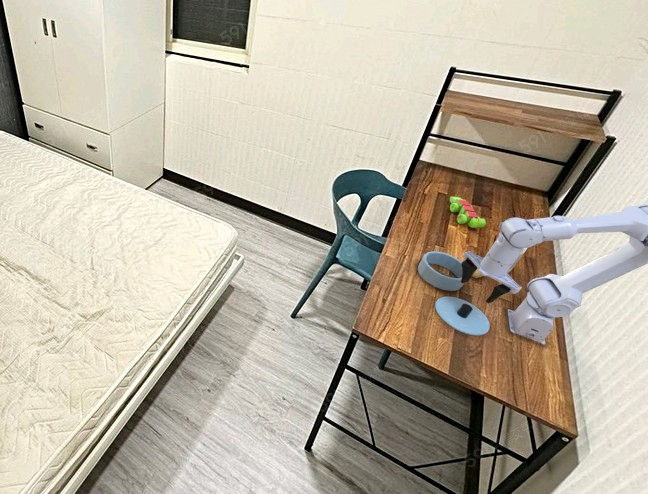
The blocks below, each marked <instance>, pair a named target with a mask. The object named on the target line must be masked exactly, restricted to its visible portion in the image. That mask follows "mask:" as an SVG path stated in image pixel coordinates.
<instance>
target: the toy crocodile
mask: <svg viewBox="0 0 648 494" xmlns="http://www.w3.org/2000/svg"><path fill="white" fill-rule="evenodd" d="M449 203H450V205H449V210H450V212H451V213H458V215H457V218H456V222H457V223H458V224H459V225H465V224H467V226H468V227H470V228H472V229H483V228H485V227H486V225H487V222H486V221H487V220H486V219H485V218H481V217H480V216H478V214H477V212H475V209H474V207H473V205H472V204H471V203H470V202H469V201H467V200H466V199H463V198H462V197H459V196H450V197H449Z"/></svg>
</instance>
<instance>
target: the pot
mask: <svg viewBox="0 0 648 494" xmlns="http://www.w3.org/2000/svg"><path fill="white" fill-rule="evenodd" d="M462 262H463V261H461V260H460V259H459V258H457V257H455V256H453V255H451V254H449V253H446V252H443V251H437V250H433V251H427V252H426V253H425V254H423V256H422V258H421V260H420V261H419V263H418V266H417V272H418V274H419V276H420V277H421V278H422V279H423V280H424V281H425V282H426V283H428V284H429V285H431V286H433V287H435V288H438V289H440V290H443V291H448V292H449V291H450V292H454V291H459V290H460V289H461V288H462V287H463V286H464V284H465V283H461V279H462V265H461V263H462ZM430 264H432V265H438V266H439V267H443V268H445V269H446V270H448V271H450V272H451V273H453V274H454V276H456V277H451V276H447V275H445V274H441V272H438V271H437V270H435V269H434V268H433V267H432V266H431V265H430Z"/></svg>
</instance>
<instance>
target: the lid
mask: <svg viewBox="0 0 648 494" xmlns="http://www.w3.org/2000/svg"><path fill="white" fill-rule="evenodd" d="M434 308H435V311H436V313H437V315H438V316H439V318H440V319H441V320H442V322H444V323H446V325H448V326H449V327H450V328H452V329H454V330H456V331H458V332H460V333H462V334H465V335H469V336H475V337H476V336H479V337H480V336H483V335H485V334H487V333H488V332H489V330H490V328H491V325H490V321H489V319H488V317H487V316H486V314H485V313H484V312H483V311H481V310H480V309H479V308H478V307H477V306H475V305H474V304H472V303H470V302H469V301H467V300H465V299H462V298H459V297H455V296H441V297H439V298H438V299H437V300H436V301H435V303H434Z"/></svg>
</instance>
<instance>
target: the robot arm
mask: <svg viewBox="0 0 648 494" xmlns="http://www.w3.org/2000/svg"><path fill="white" fill-rule="evenodd" d="M498 228H499V229H500V230H499V231H500V232H499V233H498V236H497V238H496V239H495V241H494V242H493V244H492V245H491V246H490V248H489V249H488V251H487V253H485V256H483V257H482V256H480V255H478V254H476V253H474V252H473V251H471V250H469V251H465V252H464V254H463V255H462V258H463V259H465V260H462V261H461V262H462V263H461V265H462V279H461V283H464V284H466V283H468V282H469V281H470V280H471V279H472V278H473V277H472V275H473V273H474V272H475V271H476V270H477V269H479V271H478V272H479V273H480V274H482V275H483V276H482V277H488V278H490V279H492V280H495V281H496V282H498V283H500V284H497V285H495V286H494V287H493V289H492V292H491V293H490V295H489V296H488V297H487V298H486V300H485V303H487V304H492V303H493V302H494V301H496V300H497V299H499V298H500V297H502V296H503V295H506V294H508V293H511V294H512V295H515V294H519V292H520V291H521V290H522V288H523V286H521V285H520V284H518V283H517V282H516V281H515V280H514V279H513V277H511V276H510V274H509V273H507V271H508V270H509V269H510V267H511V266H512V265H513V263H514V262H515V260H516V259H517V258H518V256H519V255H520V254H521V252H522V251H523V250H524V248H527V249H528V248H532V247H534V246H535V245H538V244H541V243H543V242H550V241H551V242H553V241H560V240H561V241H562V240H570V239H573V238H574V237H575V236H576V235H577V234H598V233H623V234H625V235H627V236H629V237H628V239H629V240H628V243H626V244H624V245H621V246H620V247H618V248H616V249H614V250H612V251H610V252H608V253H606V254H603V255H602V256H600V257H598V258H596V259H594V260H592V261H589V262H588V263H586V264H583V265H582V266H580V267H578V268H576V269H574V270H572V271H570V272H567V273H566V274H564V275H559V274H555V273H549V274H547V275H545V276H540V277H535V278H533V279H531V280H530V281H529V282H528V283H527V285H526V288H527V290H528V292H527V293H526V297H525V298H524V299H523V301H521V303H520V304H519V306H518V307H517V308H515V310H512V309H509V308H508V309H507V315H508V323H509V330H510V332H512V333H513V334H517V335H519V336H521V337H524V338H527V339H529V340H532V341H535V342H536V343H539V344H541V345H546V339H547V337H548V336H549V335H550V334H551V333H553V331H554V320H555V319H556V318H564V317H566V316H568V315H570V314H571V313H572V312H573V311H574V310H576V309H577V308H579V307H581V306H582V300H583V294H585V293H588V292H589V291H592V290H594V289H597V288H598V287H600V286H602V285H604V284H607V283H609V282H611V281H613V280H616V279H617V278H619V277H621V276H625V275H626V274H628V273H630V272H632V271H635V270H637V269H639V268H641V267H643V266H646V265H648V203H644V204H639V205H638V204H637V205H629V206H627V207H625V208H624V209H622V211H619V212H613V213H611V212H610V213H607V214H599V215H593V216H587V217H580V218H574V219H572V218H569V217H567V216H566V215H553V216H548V217H541V218H532V219H525V218H522V217H517V216H516V217H510V218H506V220H504V221H503V222H502V221H501V222H499V227H498Z"/></svg>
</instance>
